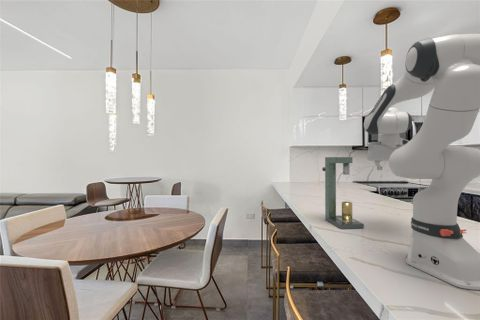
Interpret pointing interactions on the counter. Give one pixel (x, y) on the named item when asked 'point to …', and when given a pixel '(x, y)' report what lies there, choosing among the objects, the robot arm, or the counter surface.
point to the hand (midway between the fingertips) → (388, 170)
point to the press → (331, 192)
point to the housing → (347, 211)
